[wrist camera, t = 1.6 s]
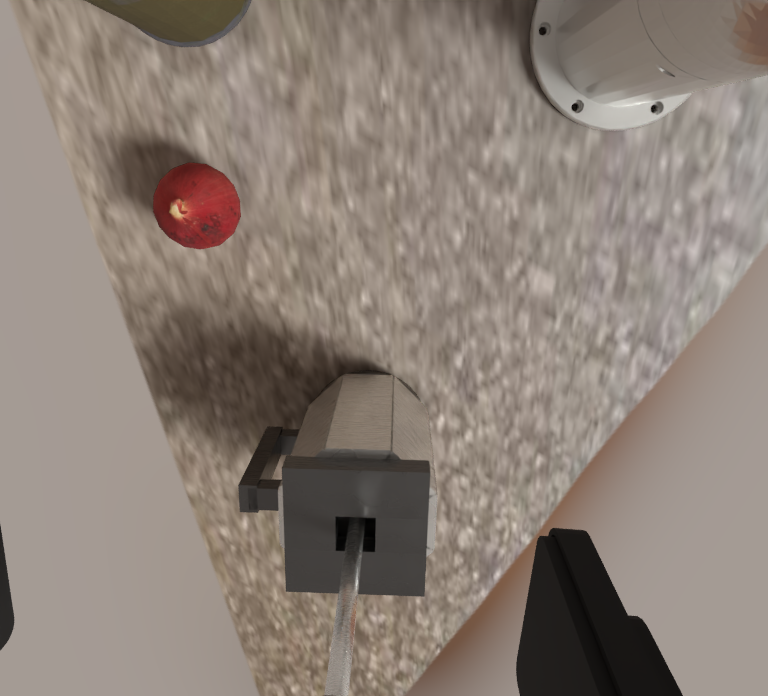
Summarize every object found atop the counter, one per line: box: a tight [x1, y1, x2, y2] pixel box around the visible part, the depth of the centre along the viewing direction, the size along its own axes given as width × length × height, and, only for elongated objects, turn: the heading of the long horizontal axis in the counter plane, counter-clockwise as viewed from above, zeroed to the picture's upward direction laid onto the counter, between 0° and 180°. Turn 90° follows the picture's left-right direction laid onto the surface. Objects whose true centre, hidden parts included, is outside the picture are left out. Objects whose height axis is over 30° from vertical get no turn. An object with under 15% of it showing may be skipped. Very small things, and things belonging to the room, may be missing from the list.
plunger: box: [324, 517, 376, 696], centre depth 30 cm, size 7×7×20 cm
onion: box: [153, 163, 241, 249], centre depth 42 cm, size 6×6×8 cm
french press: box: [238, 370, 437, 596], centre depth 44 cm, size 13×10×16 cm
